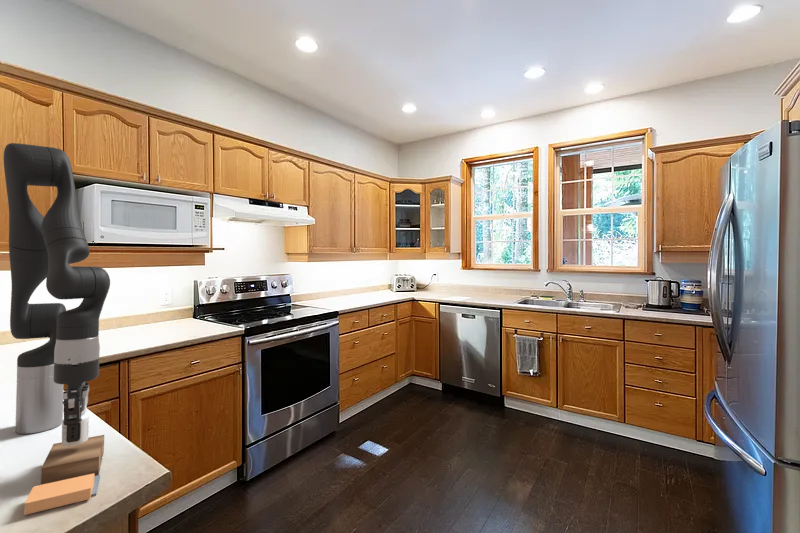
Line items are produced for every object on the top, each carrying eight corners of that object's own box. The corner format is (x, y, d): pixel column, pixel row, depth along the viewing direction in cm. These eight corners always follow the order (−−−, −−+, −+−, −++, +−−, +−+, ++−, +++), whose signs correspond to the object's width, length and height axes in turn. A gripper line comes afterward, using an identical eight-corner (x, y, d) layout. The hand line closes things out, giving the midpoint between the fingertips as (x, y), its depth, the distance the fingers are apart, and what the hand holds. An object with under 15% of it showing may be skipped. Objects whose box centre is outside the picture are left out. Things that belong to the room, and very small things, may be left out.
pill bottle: (75, 437, 85) (76, 402, 85) (93, 438, 84) (94, 403, 84) (55, 446, 80) (56, 409, 80) (74, 447, 80) (75, 411, 80)
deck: (53, 461, 85) (53, 443, 85) (103, 451, 90) (104, 434, 90) (40, 488, 75) (41, 468, 75) (98, 475, 80) (99, 456, 80)
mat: (48, 488, 75) (48, 486, 75) (100, 476, 79) (100, 474, 79) (39, 509, 69) (39, 506, 69) (96, 495, 73) (96, 493, 73)
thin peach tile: (24, 503, 66) (24, 515, 66) (90, 488, 71) (90, 498, 71) (33, 486, 71) (33, 497, 71) (94, 473, 76) (94, 483, 76)
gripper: (60, 353, 86) (58, 428, 86) (46, 368, 74) (44, 455, 74) (102, 349, 90) (100, 421, 90) (95, 363, 78) (93, 445, 78)
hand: (75, 436), depth 82 cm, fingers closed on pill bottle, 4 cm apart
